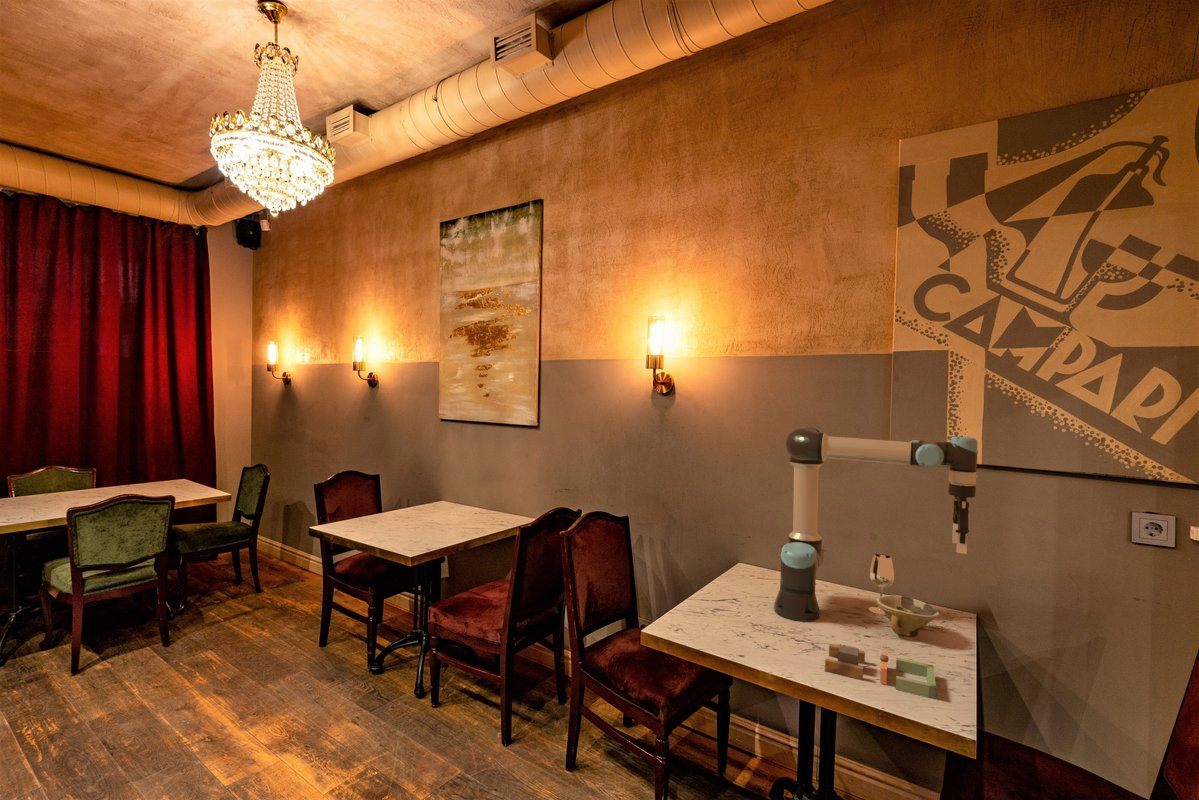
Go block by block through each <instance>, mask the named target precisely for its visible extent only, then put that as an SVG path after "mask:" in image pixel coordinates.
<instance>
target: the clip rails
mask: <svg viewBox="0 0 1199 800" xmlns="http://www.w3.org/2000/svg"><path fill="white" fill-rule="evenodd" d="M828 645H829V646H828V657H831V658H836V659H838V651H839V647H840V645H835V644H831V643H829V644H828ZM836 659H830V658H825V659H824V661H825V662H824V672H826V673H831V674H836V675H839V676H843V677H846V678H847V677H848V678H852V679H856V680H860V681H863V679H864V677H863V676H864V666H861V665H858V666H857V665H853V664H848V663H844V662H840V661H838V660H836ZM865 660H866V651H864V650H859V661H858V664H862V665H865V663H866V662H865Z"/></svg>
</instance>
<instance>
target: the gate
mask: <svg viewBox="0 0 1199 800" xmlns="http://www.w3.org/2000/svg"><path fill="white" fill-rule="evenodd" d="M888 654H889V653H888V652H884V651H881V655H880V656H879V657H880V658H879V660H880V677H879V681H880V682H879V683H880V684H883V685H887V679H888V671H887V670H888V662H889V656H888Z"/></svg>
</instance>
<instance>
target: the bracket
mask: <svg viewBox="0 0 1199 800" xmlns="http://www.w3.org/2000/svg"><path fill="white" fill-rule="evenodd" d="M934 669H935V668H934V665H932V664H927V663H924V662H919V661H915V660H914V661H913V660H910V659H904V658H900V657H896V660H895V671H898V672H902V673H906V674H912V675H915V676H919V677H924V678H926V681H925V682H924V681H921V680H917V679H913V678H912V679H911V678H908V677H903V676H898V675H896V677H895V678H896V679H895V691H896V690H897V691H901V692H905V693H909V694H912V695H917V696H922V697H925V698H929V699H933V700H937V685H936V683H937V682H936V676H935V675H936V674H935V670H934Z"/></svg>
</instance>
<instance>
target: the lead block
mask: <svg viewBox="0 0 1199 800" xmlns="http://www.w3.org/2000/svg"><path fill="white" fill-rule="evenodd" d="M839 646H840V647H839V651H838V658H837V661H840V662H844V663H848V664H853V665H857V666H859V663H858V661H859V651H860V649H859V648H857V647H854V646H848V645H844V644H840V645H839Z"/></svg>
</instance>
